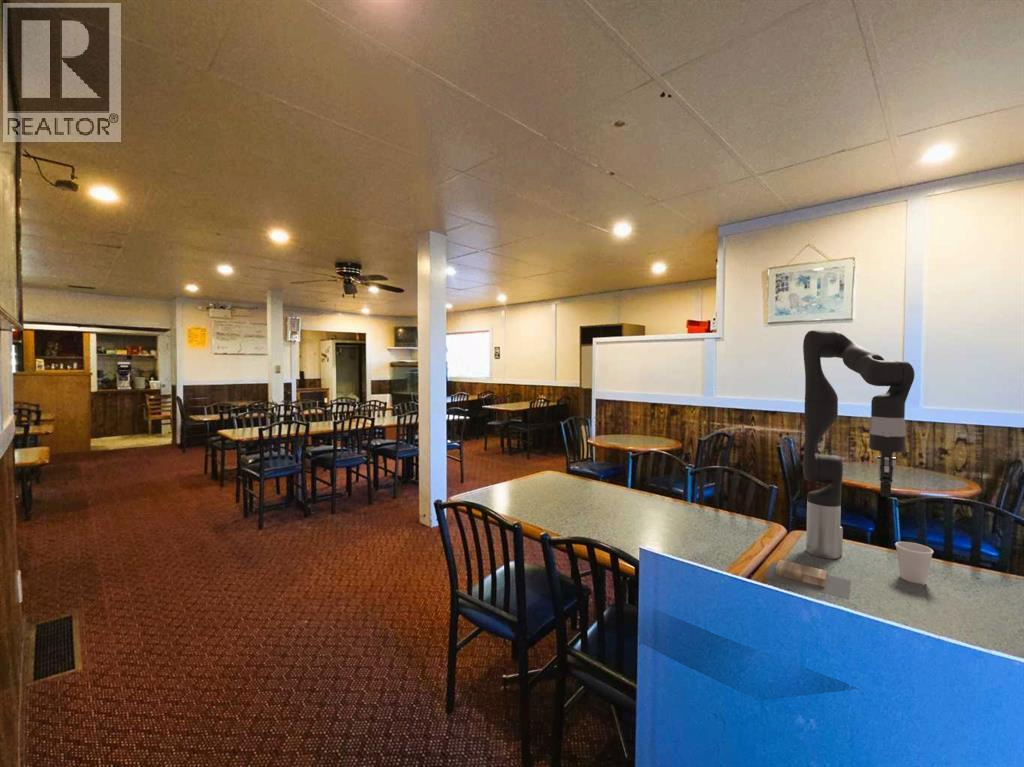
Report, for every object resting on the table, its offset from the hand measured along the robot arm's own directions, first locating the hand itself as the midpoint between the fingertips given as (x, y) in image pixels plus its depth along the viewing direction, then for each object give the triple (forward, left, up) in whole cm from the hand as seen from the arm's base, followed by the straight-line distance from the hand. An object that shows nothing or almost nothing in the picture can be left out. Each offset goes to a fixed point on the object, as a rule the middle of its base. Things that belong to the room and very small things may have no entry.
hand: (885, 496), depth 122 cm
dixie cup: (-16, -5, -27) cm, 32 cm away
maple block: (+12, -6, -25) cm, 28 cm away
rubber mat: (+15, -9, -27) cm, 32 cm away
